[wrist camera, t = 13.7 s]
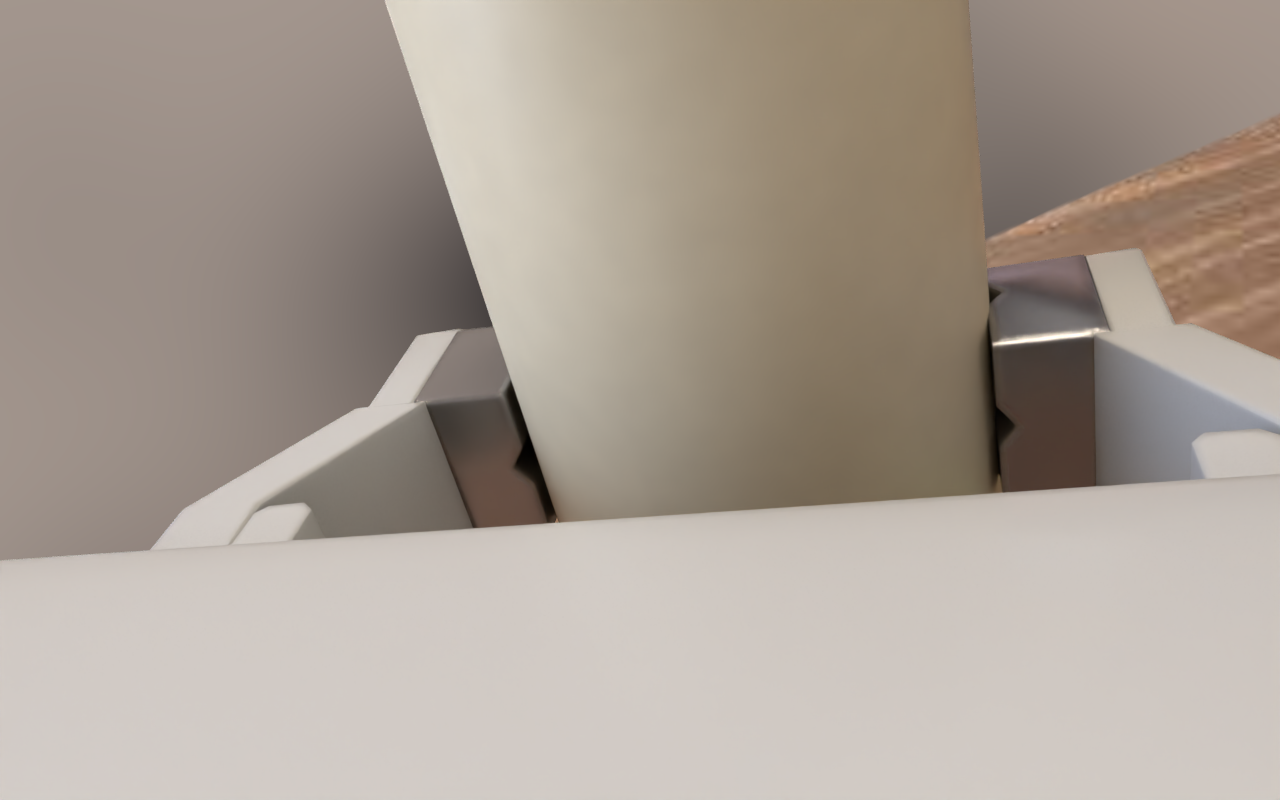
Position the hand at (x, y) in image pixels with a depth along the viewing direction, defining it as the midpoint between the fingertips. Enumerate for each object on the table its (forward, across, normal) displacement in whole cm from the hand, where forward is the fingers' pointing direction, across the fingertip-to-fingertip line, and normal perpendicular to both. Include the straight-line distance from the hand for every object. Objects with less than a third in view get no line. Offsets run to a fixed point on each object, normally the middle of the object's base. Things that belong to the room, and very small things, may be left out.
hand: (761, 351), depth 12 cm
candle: (-1, 0, +8) cm, 8 cm away
